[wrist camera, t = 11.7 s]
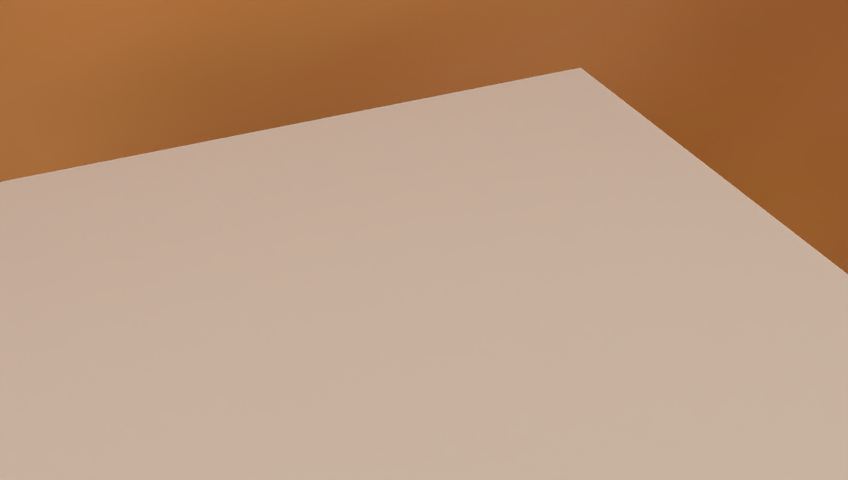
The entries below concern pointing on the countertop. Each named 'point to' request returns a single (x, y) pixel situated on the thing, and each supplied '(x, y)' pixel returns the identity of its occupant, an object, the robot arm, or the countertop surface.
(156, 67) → the countertop surface
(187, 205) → the beige block
